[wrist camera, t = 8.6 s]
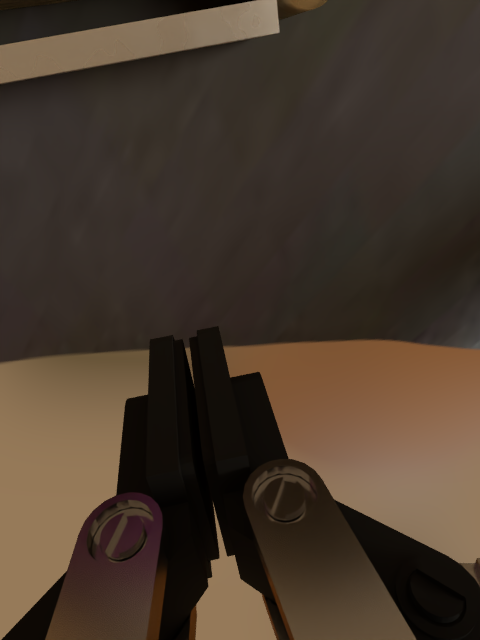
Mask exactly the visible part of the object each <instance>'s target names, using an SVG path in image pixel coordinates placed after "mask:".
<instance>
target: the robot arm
mask: <svg viewBox="0 0 480 640" xmlns="http://www.w3.org/2000/svg"><path fill="white" fill-rule="evenodd" d="M189 342H190V351H191V360H192V368H193V378H194V384H193V380H192V376H191V372H190V368H189V363H188V359H187V355H186V351H185V347H184V343H183V340H182V339H181V340H176V341H175V340H174V337H173V335H171V336H166V337H161V338H156V339H151V340H150V352H149V354H150V355H149V385H148V395H144V396H139V397H135V398H129V399H127V400H126V404H125V412H124V422H123V432H122V443H121V453H120V463H119V473H118V484H117V494H116V496H114V497H112V498H110V499H108V500H106V501H104V502H103V503H102V504H101V505H100V506H98V507H97V508H96V509H95V510H94V511H93V512H92V513H91V514H90V515H89V517H88V518H87V519H86V520H85V522H84V524H83V526H82V528H81V531H80V533H79V535H78V538H77V542H76V545H75V548H74V551H73V554H72V558H71V560H70V564H69V567H68V570H67V571H66V573H64V575H63V576H62V577H61V578H60V579H59V580H58V581H57V582H56V583H55V584H54V585H53V586H52V587H51V588H50V589H49V590H48V591H47V592H46V594H45V595H44V596H43V597H42V598H41V599H40V600H39V601H38V602H37V603H36V604H35V605H34V606H33V607H32V608H31V609H30V611H28V612H27V613H26V614H25V616H24V617H23V618H22V619H21V620H20V621H19V622H18V623H17V624H16V625H15V626H14V627H13V628H12V629H11V630H10V631H9V632H8V633H7V634H6V636H5V637H4V638H3V639H2V640H195V637H196V621H197V611H196V604H197V602H198V601H199V599H200V598H201V596H202V595H203V594H204V592H205V591H206V589H207V588H208V579H207V578H211V577H212V571H211V562H210V561H211V560H215V559H219V548H218V539H217V531H216V524H215V515H214V507H215V511H216V515H217V519H218V522H219V526H220V530H221V534H222V537H223V541H224V546H225V549H226V553H227V556H231V555H235V557H236V562H237V566H238V570H239V574H240V578H241V579H242V580H243V581H244V582H246V583H247V584H249V585H250V586H252V587H253V588H255V589H256V590H258V591H259V592H260V593H262V597H263V601H264V603H265V607H266V610H267V612H268V615H269V618H270V621H271V624H272V627H273V630H274V633H275V636H276V638H277V640H480V558H477V560H476V563H457V562H456V561H454V560H453V559H451V558H449V557H448V556H446V555H445V554H442V553H440V552H438V551H436V550H434V549H432V548H430V547H428V546H426V545H424V544H422V543H420V542H418V541H416V540H414V539H412V538H410V537H408V536H406V535H404V534H402V533H400V532H398V531H396V530H394V529H392V528H390V527H388V526H386V525H384V524H382V523H380V522H378V521H376V520H374V519H372V518H370V517H368V516H366V515H364V514H362V513H360V512H358V511H356V510H354V509H352V508H350V507H348V506H346V505H344V504H342V503H340V502H338V501H336V500H334V499H333V497H332V496H331V494H330V492H329V490H328V489H327V487H326V485H325V484H324V482H323V480H322V479H321V478H320V476H319V475H318V474H317V473H316V471H315V470H314V469H312V468H311V467H309V466H308V465H306V464H305V463H302V462H299V461H296V460H292V459H288V456H287V453H286V450H285V447H284V444H283V441H282V438H281V435H280V432H279V428H278V426H277V422H276V420H275V416H274V413H273V410H272V407H271V404H270V401H269V398H268V395H267V392H266V389H265V386H264V383H263V380H262V377H261V374H260V372H256V373H251V374H246V375H241V376H237V377H231V378H230V375H229V371H228V367H227V362H226V358H225V354H224V349H223V345H222V340H221V336H220V331H219V327H218V326H217V327H212V328H207V329H202V330H197V336H196V337H191V338H189ZM194 387H195V388H194ZM213 503H214V507H213Z"/></svg>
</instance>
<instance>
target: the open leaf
mask: <svg viewBox="0 0 480 640" xmlns="http://www.w3.org/2000/svg"><path fill="white" fill-rule="evenodd" d="M276 33H279V21H278V9H277V0H256V1H251V2H245V3H239V4H234V5H228V6H222V7H216V8H211V9H205V10H199V11H194V12H188V13H182V14H176V15H171V16H165V17H159V18H154V19H148V20H142V21H137V22H131V23H125V24H119V25H114V26H108V27H102V28H97V29H91V30H85V31H80V32H74V33H68V34H62V35H57V36H51V37H45V38H40V39H34V40H28V41H23V42H17V43H11V44H5V45H0V85H2V84H7V83H13V82H18V81H24V80H29V79H35V78H40V77H46V76H51V75H57V74H62V73H68V72H73V71H79V70H84V69H90V68H95V67H101V66H106V65H112V64H117V63H123V62H128V61H134V60H139V59H144V58H150V57H155V56H161V55H166V54H172V53H177V52H183V51H188V50H194V49H199V48H205V47H210V46H216V45H221V44H227V43H232V42H238V41H243V40H249V39H254V38H259V37H263V36H267V35H271V34H276Z"/></svg>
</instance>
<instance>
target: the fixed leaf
mask: <svg viewBox="0 0 480 640" xmlns="http://www.w3.org/2000/svg"><path fill="white" fill-rule="evenodd" d="M70 1H77V0H0V11H1V10H8V9H16V8H24V7H31V6H39V5H47V4H54V3H62V2H70ZM327 1H328V0H277V9H278V20H279V19H285V18H288V17H291V16H294V15H297V14H300V13H303V12H306V11H309V10H312V9H315V8H317V7H320V6H321V5H323V4H324V3H326V2H327Z"/></svg>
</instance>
